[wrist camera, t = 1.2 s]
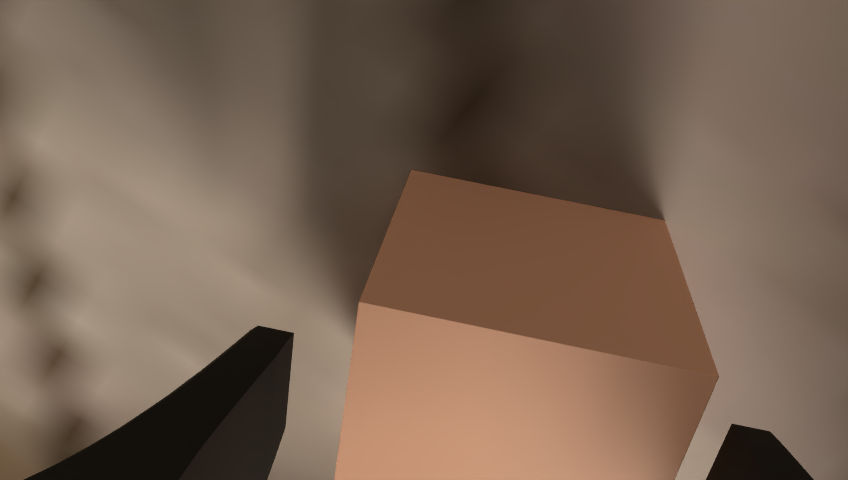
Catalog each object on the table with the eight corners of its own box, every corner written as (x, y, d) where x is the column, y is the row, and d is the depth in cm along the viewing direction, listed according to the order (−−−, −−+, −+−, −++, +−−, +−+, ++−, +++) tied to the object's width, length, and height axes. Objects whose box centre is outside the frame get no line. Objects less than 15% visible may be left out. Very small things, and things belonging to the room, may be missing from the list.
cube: (664, 218, 15) (718, 376, 10) (596, 414, 17) (617, 612, 13) (411, 168, 15) (358, 302, 10) (379, 368, 17) (324, 546, 13)
